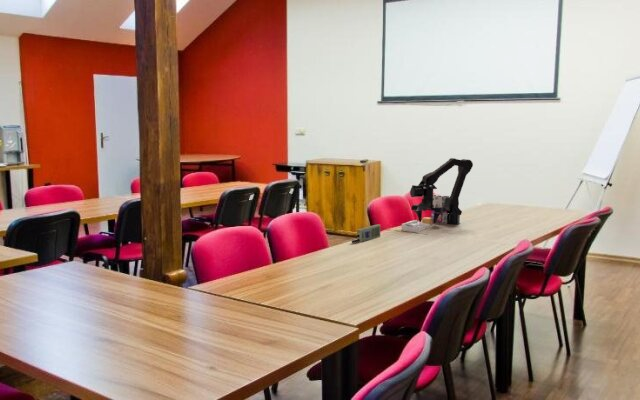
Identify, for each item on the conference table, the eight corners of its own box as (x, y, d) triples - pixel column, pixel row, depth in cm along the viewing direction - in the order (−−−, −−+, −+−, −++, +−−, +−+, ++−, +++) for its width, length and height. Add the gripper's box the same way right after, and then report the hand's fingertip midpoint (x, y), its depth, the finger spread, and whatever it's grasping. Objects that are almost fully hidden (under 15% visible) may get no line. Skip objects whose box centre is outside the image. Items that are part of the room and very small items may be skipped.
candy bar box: (448, 222, 354) (449, 195, 352) (441, 223, 352) (442, 196, 350) (437, 220, 364) (437, 193, 362) (430, 220, 362) (431, 194, 360)
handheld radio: (381, 237, 312) (355, 244, 292) (376, 236, 314) (349, 244, 294) (381, 224, 311) (355, 231, 292) (376, 224, 313) (349, 230, 294)
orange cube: (432, 224, 345) (432, 217, 344) (429, 225, 341) (429, 218, 341) (425, 223, 347) (425, 217, 347) (421, 224, 344) (422, 218, 343)
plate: (435, 225, 345) (435, 224, 345) (430, 227, 340) (430, 226, 339) (424, 224, 349) (424, 223, 349) (419, 225, 344) (419, 225, 344)
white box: (431, 227, 338) (431, 221, 337) (417, 232, 324) (417, 226, 323) (415, 225, 344) (415, 219, 343) (401, 230, 330) (401, 224, 329)
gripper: (407, 196, 341) (406, 223, 343) (436, 199, 330) (436, 226, 332) (416, 194, 350) (415, 220, 352) (445, 197, 339) (444, 224, 341)
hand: (427, 223), depth 344 cm, fingers open, 9 cm apart
